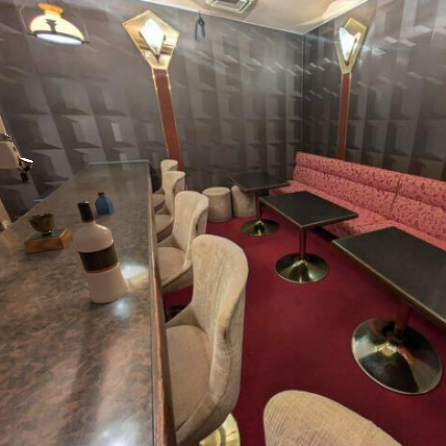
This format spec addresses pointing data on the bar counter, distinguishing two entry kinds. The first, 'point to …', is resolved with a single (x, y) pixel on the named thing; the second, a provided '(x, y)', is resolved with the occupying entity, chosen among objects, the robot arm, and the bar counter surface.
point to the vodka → (98, 258)
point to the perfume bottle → (103, 204)
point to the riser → (48, 240)
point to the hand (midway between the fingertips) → (9, 182)
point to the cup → (43, 223)
